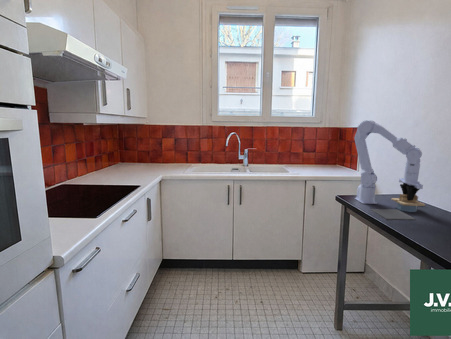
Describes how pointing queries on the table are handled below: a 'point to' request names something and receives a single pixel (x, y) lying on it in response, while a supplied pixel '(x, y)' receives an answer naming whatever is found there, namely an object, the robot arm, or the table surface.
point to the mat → (393, 214)
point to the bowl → (406, 208)
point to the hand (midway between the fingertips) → (407, 199)
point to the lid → (407, 201)
